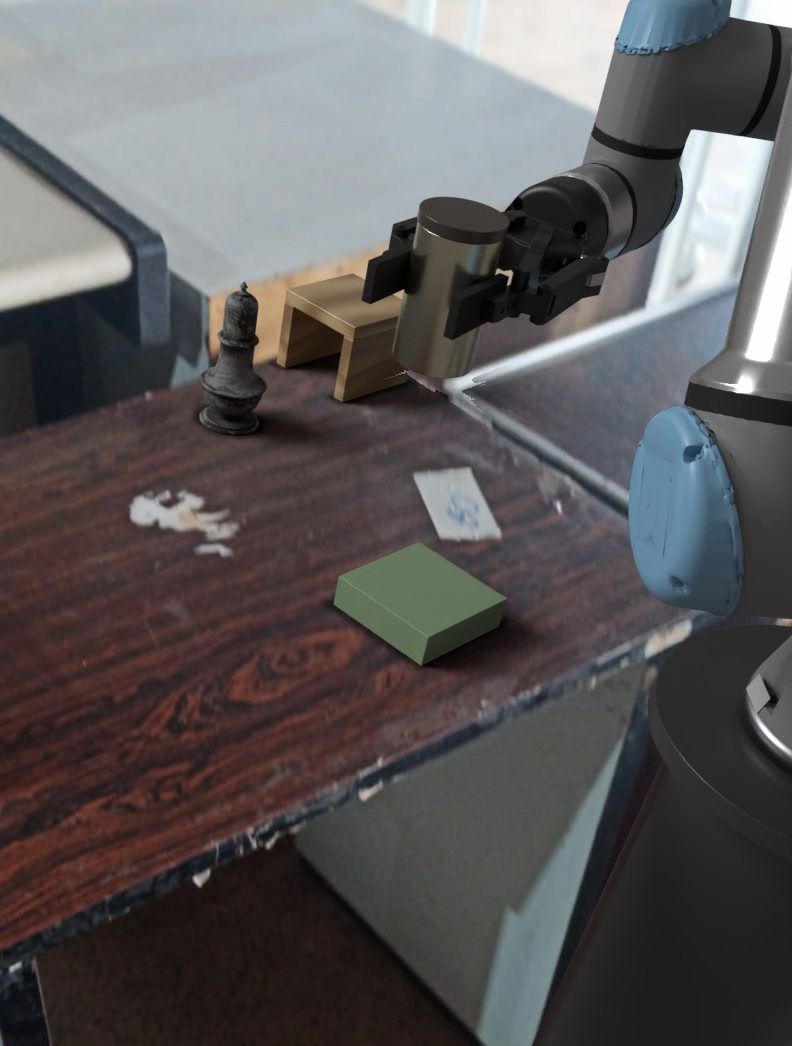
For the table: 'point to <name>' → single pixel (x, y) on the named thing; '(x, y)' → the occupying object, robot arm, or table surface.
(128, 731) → the table surface
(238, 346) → the salt shaker
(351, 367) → the wooden arch stand
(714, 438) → the robot arm
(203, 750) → the table surface
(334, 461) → the table surface
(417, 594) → the green flat square block
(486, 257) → the tin
